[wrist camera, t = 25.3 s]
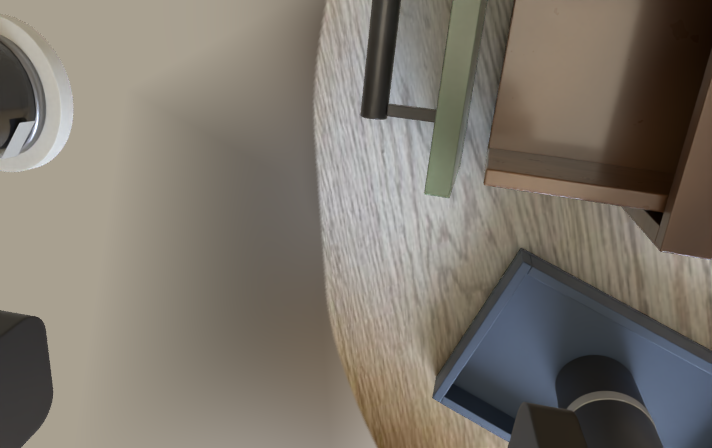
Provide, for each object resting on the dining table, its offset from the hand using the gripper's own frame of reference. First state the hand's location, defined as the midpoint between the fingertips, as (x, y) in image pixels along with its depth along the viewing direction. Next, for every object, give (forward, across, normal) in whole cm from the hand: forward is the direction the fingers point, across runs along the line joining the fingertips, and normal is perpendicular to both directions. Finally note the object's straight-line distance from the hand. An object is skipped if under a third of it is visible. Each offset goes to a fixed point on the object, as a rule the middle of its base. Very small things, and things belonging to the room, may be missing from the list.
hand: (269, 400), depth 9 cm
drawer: (+25, -9, -4) cm, 27 cm away
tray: (+24, -16, +15) cm, 32 cm away
